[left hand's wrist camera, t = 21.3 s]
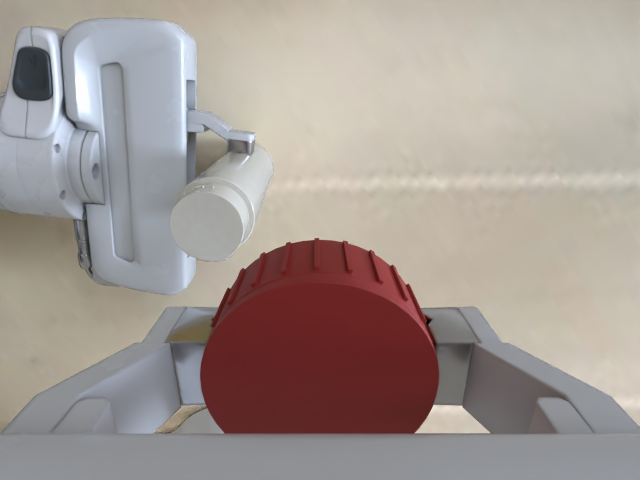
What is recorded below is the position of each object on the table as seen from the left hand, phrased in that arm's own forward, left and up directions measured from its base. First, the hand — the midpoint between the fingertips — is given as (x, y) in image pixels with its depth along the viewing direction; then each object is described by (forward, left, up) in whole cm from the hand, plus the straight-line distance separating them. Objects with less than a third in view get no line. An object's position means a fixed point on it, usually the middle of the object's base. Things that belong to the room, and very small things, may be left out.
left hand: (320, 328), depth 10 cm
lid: (0, 0, +2) cm, 2 cm away
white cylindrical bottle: (+4, -3, -26) cm, 27 cm away
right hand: (+4, -3, -21) cm, 21 cm away
